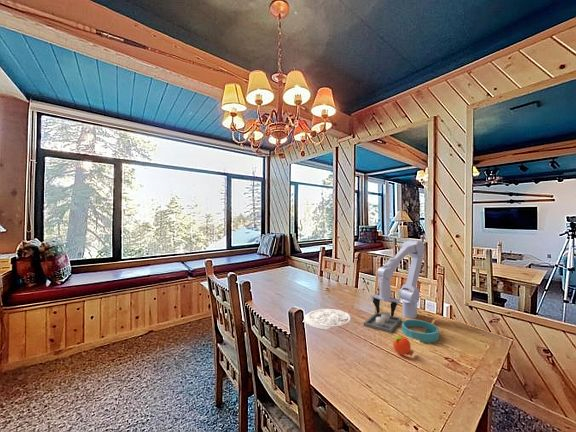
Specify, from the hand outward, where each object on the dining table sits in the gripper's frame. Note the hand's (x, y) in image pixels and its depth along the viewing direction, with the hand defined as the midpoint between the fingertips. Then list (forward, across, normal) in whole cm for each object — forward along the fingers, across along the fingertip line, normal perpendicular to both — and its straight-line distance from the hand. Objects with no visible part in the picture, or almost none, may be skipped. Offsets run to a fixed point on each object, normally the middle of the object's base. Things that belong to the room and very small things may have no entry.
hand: (385, 314), depth 141 cm
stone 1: (+4, 0, -8) cm, 9 cm away
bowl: (+5, +18, -4) cm, 19 cm away
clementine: (+5, +16, -27) cm, 31 cm away
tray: (+5, 0, -4) cm, 6 cm away
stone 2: (+4, 0, 0) cm, 4 cm away
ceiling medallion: (+6, -27, -14) cm, 31 cm away
